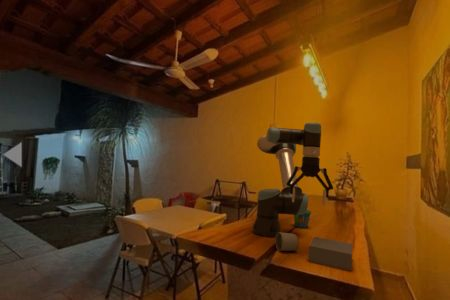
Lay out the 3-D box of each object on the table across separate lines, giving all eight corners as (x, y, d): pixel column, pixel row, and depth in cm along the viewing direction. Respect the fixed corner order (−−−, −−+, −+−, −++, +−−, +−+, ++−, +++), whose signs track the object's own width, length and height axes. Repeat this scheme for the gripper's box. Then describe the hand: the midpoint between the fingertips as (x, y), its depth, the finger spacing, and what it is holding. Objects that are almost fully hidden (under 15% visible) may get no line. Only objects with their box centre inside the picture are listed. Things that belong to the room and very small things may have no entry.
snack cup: (299, 223, 163) (300, 207, 164) (315, 227, 156) (316, 210, 156) (286, 226, 152) (287, 209, 153) (302, 230, 145) (303, 212, 145)
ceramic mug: (299, 253, 107) (300, 235, 107) (282, 253, 105) (283, 235, 106) (287, 245, 117) (288, 228, 118) (271, 245, 115) (272, 228, 116)
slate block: (308, 261, 99) (309, 245, 99) (313, 250, 112) (314, 236, 112) (351, 271, 92) (351, 254, 92) (351, 258, 105) (352, 243, 105)
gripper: (283, 154, 114) (280, 201, 113) (342, 158, 109) (339, 207, 109) (282, 155, 121) (280, 199, 120) (337, 158, 117) (335, 204, 116)
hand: (308, 203), depth 115 cm, fingers open, 13 cm apart
